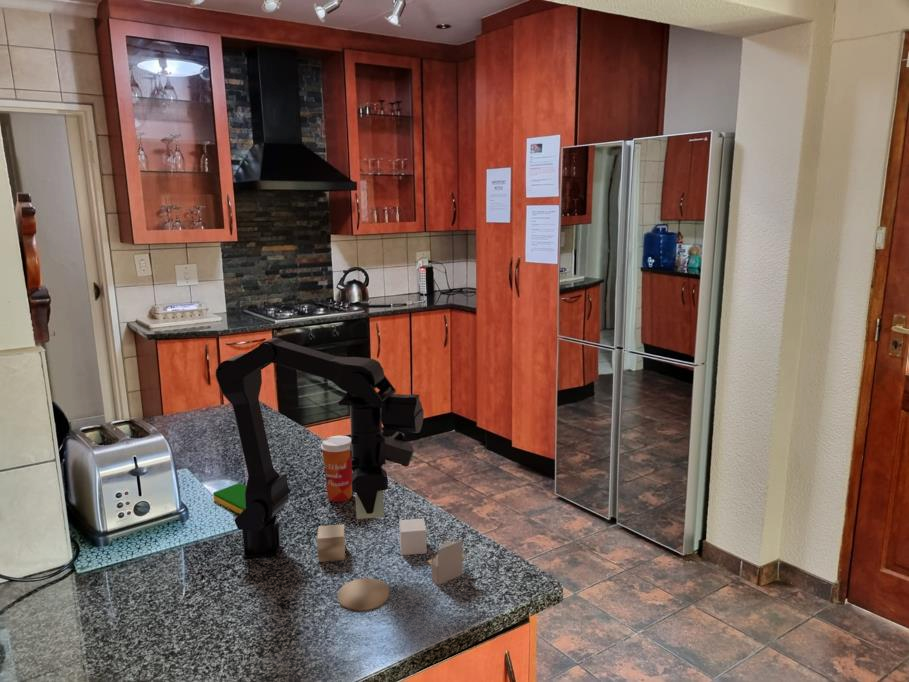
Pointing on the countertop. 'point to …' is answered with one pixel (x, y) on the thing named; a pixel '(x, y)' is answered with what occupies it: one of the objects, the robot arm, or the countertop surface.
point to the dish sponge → (232, 497)
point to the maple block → (331, 543)
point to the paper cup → (337, 467)
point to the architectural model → (447, 562)
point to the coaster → (363, 594)
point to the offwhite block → (412, 536)
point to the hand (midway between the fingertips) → (369, 506)
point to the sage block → (378, 507)
